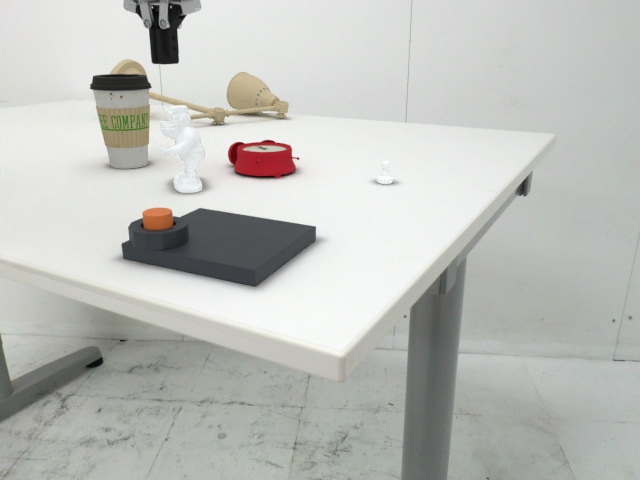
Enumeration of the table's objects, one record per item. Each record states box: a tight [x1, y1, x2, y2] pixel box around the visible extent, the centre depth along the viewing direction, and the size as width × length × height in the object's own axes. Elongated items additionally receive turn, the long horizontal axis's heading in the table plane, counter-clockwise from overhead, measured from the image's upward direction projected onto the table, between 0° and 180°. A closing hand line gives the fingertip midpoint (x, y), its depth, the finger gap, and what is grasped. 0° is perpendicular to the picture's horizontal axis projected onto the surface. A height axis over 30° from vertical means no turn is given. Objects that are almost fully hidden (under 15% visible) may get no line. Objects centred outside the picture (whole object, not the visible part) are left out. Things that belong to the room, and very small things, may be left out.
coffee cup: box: [89, 73, 153, 170], centre depth 97 cm, size 10×10×15 cm
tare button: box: [141, 207, 174, 230], centre depth 59 cm, size 3×3×2 cm
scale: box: [121, 207, 317, 287], centre depth 62 cm, size 16×14×4 cm
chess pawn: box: [376, 160, 394, 185], centre depth 90 cm, size 3×3×4 cm
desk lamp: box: [109, 58, 290, 126], centre depth 150 cm, size 15×35×40 cm
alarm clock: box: [227, 139, 300, 179], centre depth 98 cm, size 10×6×15 cm
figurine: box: [158, 105, 206, 194], centre depth 85 cm, size 9×7×12 cm
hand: (165, 63), depth 70 cm, fingers closed
